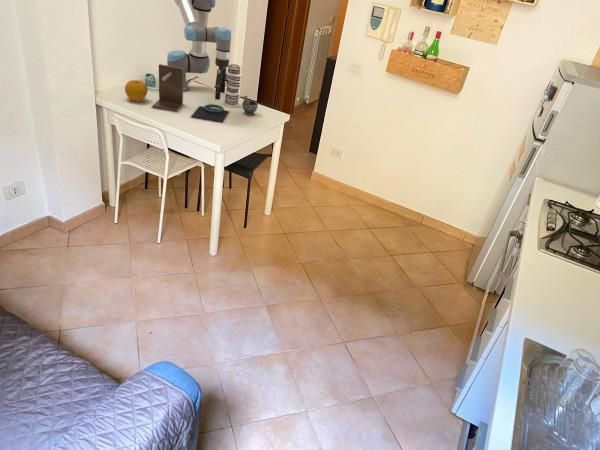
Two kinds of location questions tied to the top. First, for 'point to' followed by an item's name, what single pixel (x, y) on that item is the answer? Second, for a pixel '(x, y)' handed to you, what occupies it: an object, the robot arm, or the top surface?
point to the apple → (136, 90)
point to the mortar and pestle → (249, 106)
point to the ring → (213, 110)
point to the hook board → (170, 88)
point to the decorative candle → (232, 85)
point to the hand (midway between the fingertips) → (220, 96)
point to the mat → (209, 115)
